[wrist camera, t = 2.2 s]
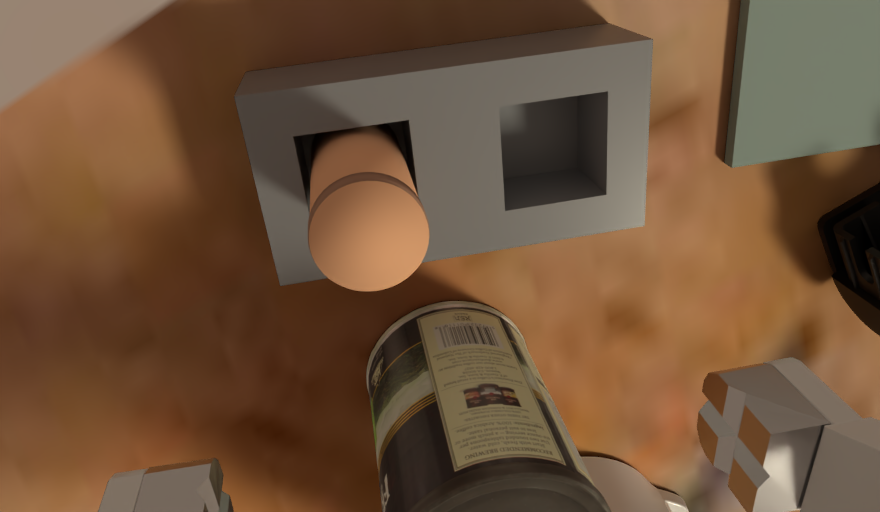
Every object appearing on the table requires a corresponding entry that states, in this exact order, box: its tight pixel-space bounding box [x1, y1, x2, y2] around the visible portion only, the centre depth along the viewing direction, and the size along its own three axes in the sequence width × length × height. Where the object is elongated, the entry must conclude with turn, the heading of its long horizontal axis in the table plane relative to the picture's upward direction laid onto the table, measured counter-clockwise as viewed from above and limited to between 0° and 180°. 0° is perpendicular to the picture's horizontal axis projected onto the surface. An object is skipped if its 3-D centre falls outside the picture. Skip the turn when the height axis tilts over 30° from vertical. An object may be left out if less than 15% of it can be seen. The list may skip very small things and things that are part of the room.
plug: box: [308, 123, 430, 291], centre depth 29 cm, size 4×4×10 cm
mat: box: [724, 0, 880, 168], centre depth 36 cm, size 12×12×1 cm
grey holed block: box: [234, 23, 653, 286], centre depth 33 cm, size 9×18×5 cm, turn 96°
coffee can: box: [366, 301, 611, 512], centre depth 35 cm, size 10×10×14 cm
